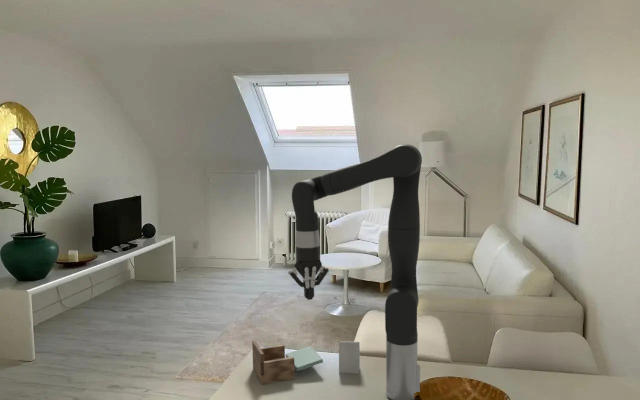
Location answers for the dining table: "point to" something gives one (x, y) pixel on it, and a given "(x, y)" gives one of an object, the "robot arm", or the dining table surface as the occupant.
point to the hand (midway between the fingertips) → (309, 298)
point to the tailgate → (305, 358)
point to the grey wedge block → (349, 357)
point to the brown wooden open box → (272, 364)
